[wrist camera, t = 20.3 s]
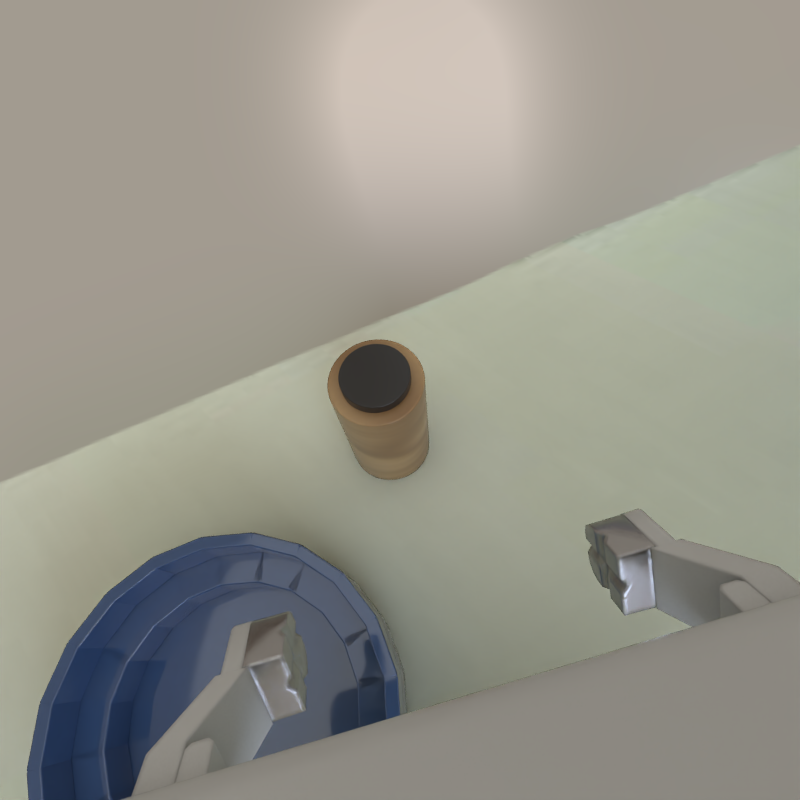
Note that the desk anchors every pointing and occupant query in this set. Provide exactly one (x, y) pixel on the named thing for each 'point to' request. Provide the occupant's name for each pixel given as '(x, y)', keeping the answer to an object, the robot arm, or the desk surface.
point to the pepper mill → (382, 407)
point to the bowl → (204, 659)
